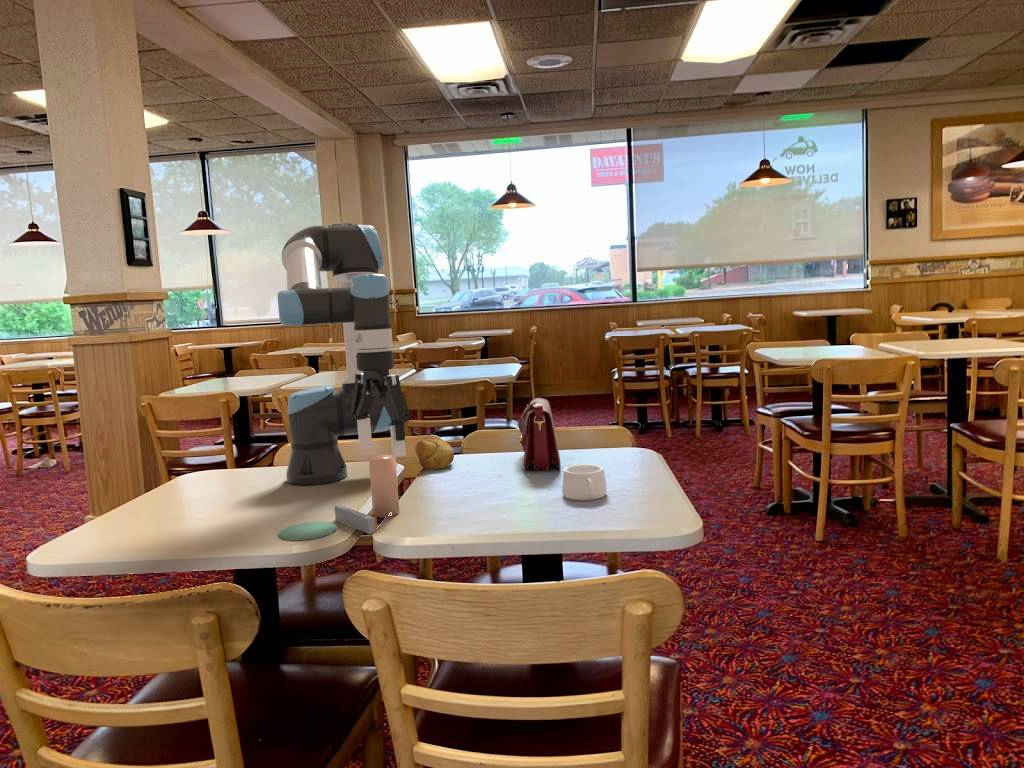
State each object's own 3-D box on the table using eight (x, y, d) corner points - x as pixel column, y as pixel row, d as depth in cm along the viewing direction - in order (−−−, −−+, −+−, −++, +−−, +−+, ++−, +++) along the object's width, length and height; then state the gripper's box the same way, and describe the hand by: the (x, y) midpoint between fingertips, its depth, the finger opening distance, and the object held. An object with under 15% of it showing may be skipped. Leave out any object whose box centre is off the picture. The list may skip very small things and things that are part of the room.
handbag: (521, 452, 214) (518, 391, 212) (558, 450, 214) (555, 389, 212) (518, 475, 187) (514, 405, 185) (561, 473, 186) (558, 403, 184)
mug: (558, 492, 169) (557, 465, 168) (600, 488, 170) (599, 462, 169) (569, 506, 157) (568, 478, 156) (615, 502, 158) (614, 474, 158)
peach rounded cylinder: (368, 514, 159) (363, 458, 157) (390, 508, 162) (386, 453, 161) (381, 519, 154) (377, 461, 153) (404, 513, 158) (400, 456, 157)
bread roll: (423, 461, 209) (421, 432, 208) (458, 460, 208) (456, 431, 208) (415, 472, 196) (413, 441, 195) (452, 470, 196) (450, 440, 195)
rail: (335, 520, 155) (334, 505, 155) (340, 518, 156) (339, 504, 156) (369, 534, 145) (368, 518, 144) (374, 532, 145) (373, 517, 145)
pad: (270, 532, 149) (269, 530, 149) (321, 519, 156) (321, 518, 156) (293, 544, 141) (293, 542, 141) (346, 530, 148) (346, 528, 148)
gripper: (329, 351, 162) (337, 449, 164) (389, 352, 143) (397, 463, 145) (361, 348, 166) (368, 443, 169) (423, 349, 147) (430, 456, 149)
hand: (382, 453), depth 157 cm, fingers open, 13 cm apart
